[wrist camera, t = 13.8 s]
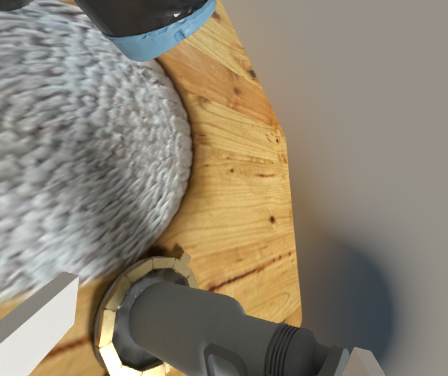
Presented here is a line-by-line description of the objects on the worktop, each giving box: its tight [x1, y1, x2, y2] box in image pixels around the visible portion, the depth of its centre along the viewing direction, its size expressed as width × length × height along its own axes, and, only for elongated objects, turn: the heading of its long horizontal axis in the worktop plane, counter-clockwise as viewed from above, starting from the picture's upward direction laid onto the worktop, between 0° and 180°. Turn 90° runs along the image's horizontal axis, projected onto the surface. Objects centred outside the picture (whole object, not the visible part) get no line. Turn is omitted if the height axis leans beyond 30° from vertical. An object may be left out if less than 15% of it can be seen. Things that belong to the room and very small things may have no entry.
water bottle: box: [129, 282, 350, 376], centre depth 30 cm, size 10×10×28 cm
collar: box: [92, 251, 199, 376], centre depth 39 cm, size 22×18×2 cm
